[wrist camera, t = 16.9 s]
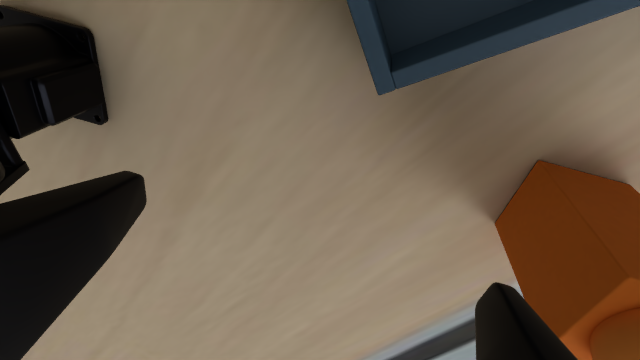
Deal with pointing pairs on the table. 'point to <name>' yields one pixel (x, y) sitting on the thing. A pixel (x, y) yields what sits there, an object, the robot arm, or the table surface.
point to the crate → (459, 31)
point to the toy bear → (578, 258)
